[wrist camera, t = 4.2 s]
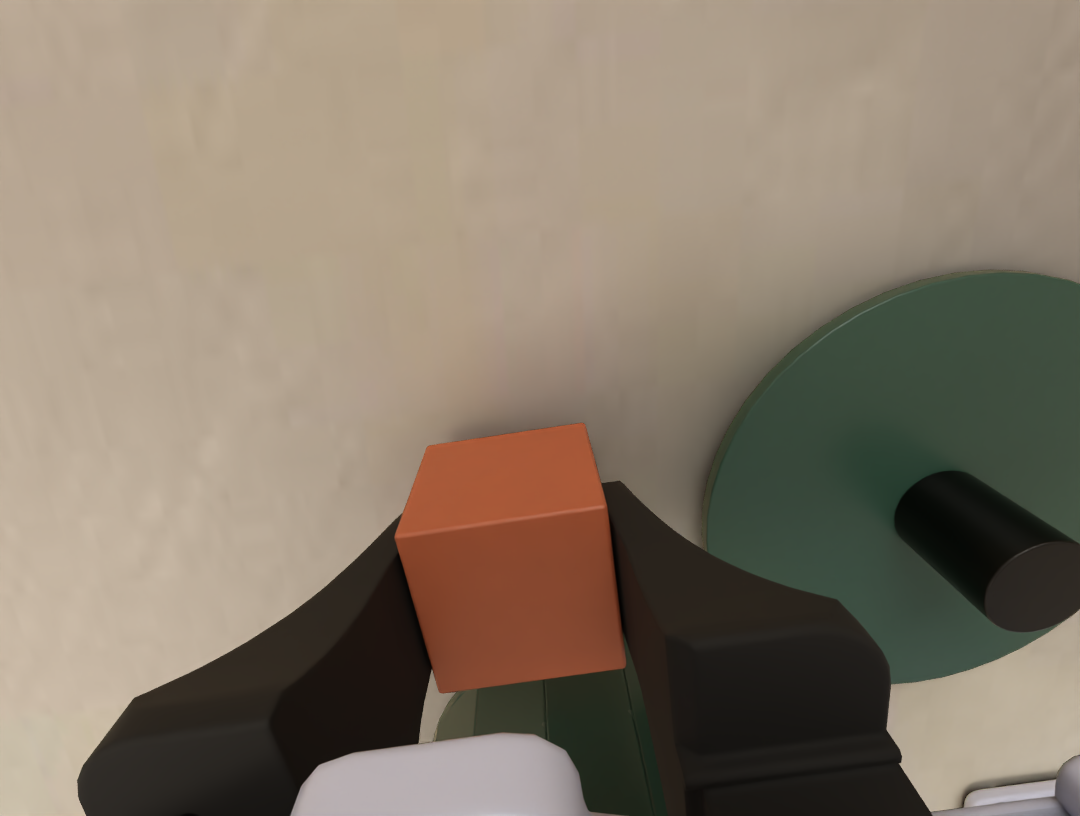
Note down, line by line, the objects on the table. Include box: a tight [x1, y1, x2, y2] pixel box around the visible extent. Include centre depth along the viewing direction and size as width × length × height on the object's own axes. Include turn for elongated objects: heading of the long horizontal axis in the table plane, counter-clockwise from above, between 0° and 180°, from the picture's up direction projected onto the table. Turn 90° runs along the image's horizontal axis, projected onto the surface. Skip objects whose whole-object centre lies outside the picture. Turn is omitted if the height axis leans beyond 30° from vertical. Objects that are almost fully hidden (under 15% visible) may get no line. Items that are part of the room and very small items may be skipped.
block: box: [395, 423, 626, 693], centre depth 13 cm, size 4×4×4 cm
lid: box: [702, 270, 1080, 684], centre depth 14 cm, size 12×12×4 cm
